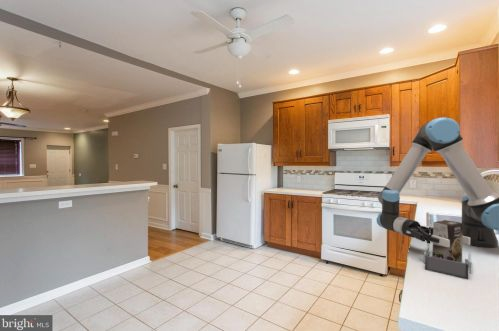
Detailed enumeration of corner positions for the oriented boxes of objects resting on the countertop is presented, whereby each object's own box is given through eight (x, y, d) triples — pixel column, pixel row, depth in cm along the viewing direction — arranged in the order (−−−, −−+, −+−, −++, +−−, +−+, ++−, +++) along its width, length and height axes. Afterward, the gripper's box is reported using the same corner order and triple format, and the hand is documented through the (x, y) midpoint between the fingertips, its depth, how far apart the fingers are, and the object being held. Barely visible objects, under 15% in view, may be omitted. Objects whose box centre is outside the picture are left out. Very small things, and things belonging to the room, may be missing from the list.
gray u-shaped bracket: (427, 253, 110) (427, 241, 110) (470, 261, 101) (470, 249, 101) (421, 268, 95) (422, 255, 95) (471, 280, 86) (472, 265, 86)
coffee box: (450, 268, 95) (451, 225, 94) (431, 262, 101) (432, 221, 100) (462, 264, 99) (463, 222, 99) (443, 258, 105) (444, 219, 104)
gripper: (426, 233, 120) (480, 249, 99) (387, 237, 114) (436, 255, 92) (426, 217, 120) (481, 230, 98) (387, 220, 114) (437, 234, 92)
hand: (459, 242), depth 95 cm, fingers closed on coffee box, 10 cm apart
